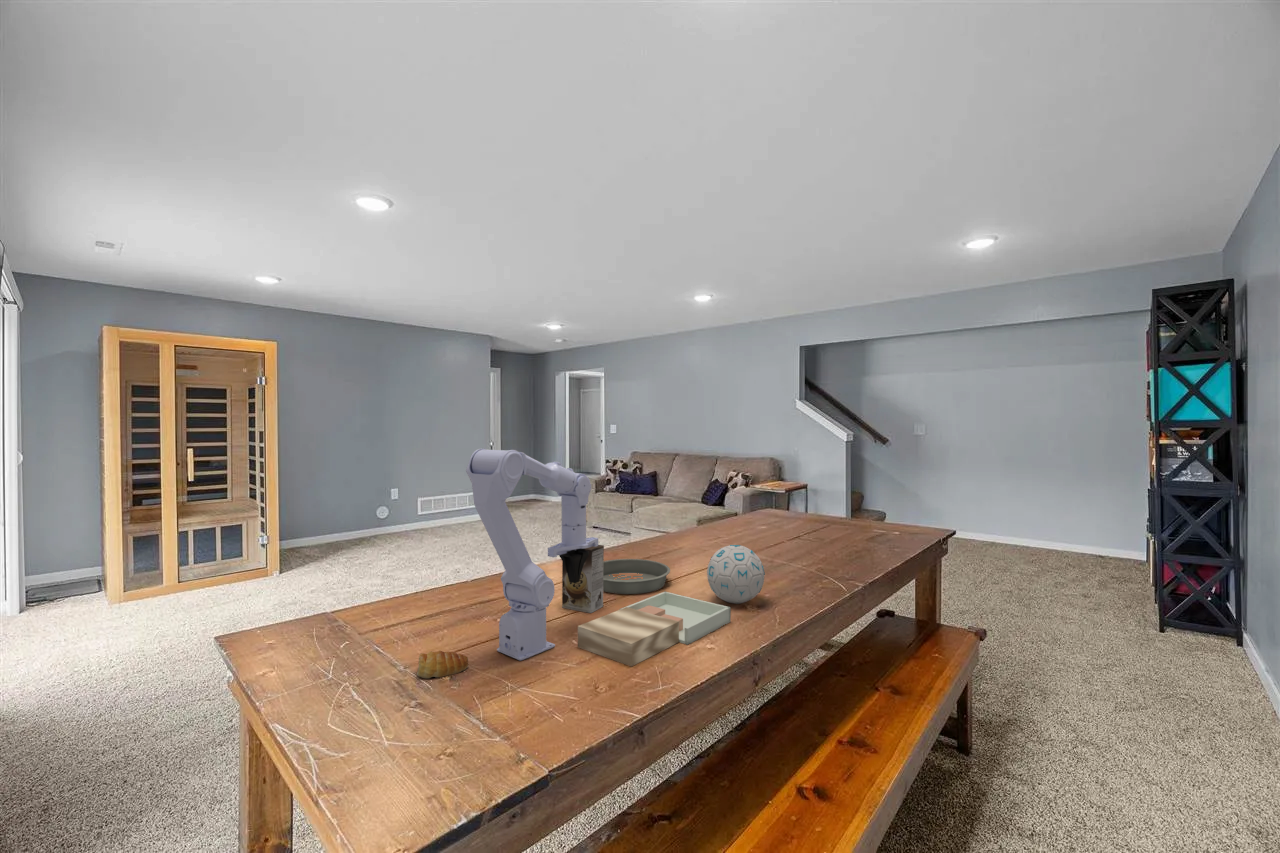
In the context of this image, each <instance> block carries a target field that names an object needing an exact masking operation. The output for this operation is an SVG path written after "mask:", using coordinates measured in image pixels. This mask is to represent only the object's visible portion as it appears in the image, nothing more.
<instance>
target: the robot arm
mask: <svg viewBox="0 0 1280 853" xmlns="http://www.w3.org/2000/svg"><path fill="white" fill-rule="evenodd" d="M561 464H562V463H561V462H559V461H552V462H547V463H542V462H541V461H539V460H536V459H535V458H533V457H531V456H529V455H527V454H526V453H525V452H522V451H518V450H517V449H510V450H509V449H508V450H507V449H505V450H503V449H487V448H483V447H482V448H478V449H475V450H474V451H473V452H472V454H471V455H470V458H469V460H468V463H467V467H466V470H465V472H466V474H467V476H468V478H469V481H470V483H471V488H472V489H471V490H472V497H473V498H472V499H473V504H474V507H475V510H476V511H477V512H476V513H478V516H479V517H480V518H479V519H480V520H481V522H482V525H483V526H484V529H485V531H486V532H487V534H488V536H489V538H490V542H491V543H492V545H493V548H494V549H495V551H496V553H497V555H498V558H499V559H500V562H501V564H502V566H503V568H504V572H503V573H502V575H501V577H500V581H501V584H502V592H503V596H504V598H505V599H506V600H507V601H508V606H509V607H510V609H509V610H508V611H507V612H505V613H503V614H502V615H501V616H500V619H499V622H498V629H499V630H498V634H499V635H498V646H499V647H498V648H496V651H497V652H499V653H500V654H501V653H502V654H503V655H506V656H508V657H510V658H512V659H516V660H518V661H523V660H527V659H529V658H531V657H533V656H536V655H538V654H541V653H543V652H545V651H547V650H550V649H553V648H554V647H555V646H556V644H555V643H552V642H550V641H548V640H547V608H548V607H549V606H550V604H551V602H552V601H553V598H554V596H555V591H556V590H555V584H554V581H553V579H552V578H550V577H549V576H547V574H546V572H545V570H544V569H542V568H541V567H540V566H538V565H537V564H536V563H534V562H533V561H532V558H531V557H530V554H529V552H528V550H527V547H526V545H525V543H524V541H523V537H522V536H521V534H520V531H519V530H518V527H517V525H516V523H515V521H514V518H513V516H512V514H511V511H510V510H509V507H508V505H507V503H506V501H507V499H508V498H510V497H511V496H512V494H513V492H514V490H515V489H516V486H517V485H518V483H519V481H520V480H521V477H522V476H525V475H526V476H528V477H532V478H534V479H537V480H538V482H539V484H540V486H542V487H544V489H548V490H551V491H554V492H556V493H557V496H559V497H561V499H560V500H561V503H560V504H561V505H560V507H561V542H559V543H557V544H555V545H552V546H550V547H547V557H550V558H557V556H559V558H560V560H561V561H563V563H564V565H565V568H566V571H567V575H568V579H569V582H572V583H577V582H579V580H580V576H581V572H582V568H583V565H584V563H585V561H586V559H587V557H588V556H589V551H586V550H585V548H589V547H592V546H594V547H596V546H598V545H599V537H595V536H594V537H593V536H591V537H587V505H588V502H589V496H590V493H591V490H592V483H591V480H590V478H589V477H588V476H587V475H586V474H585V473H581V472H575V471H574V469H573V468H570V467H567V468H566V467H564V466H562V465H561Z"/></svg>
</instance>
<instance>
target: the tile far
mask: <svg viewBox="0 0 1280 853" xmlns="http://www.w3.org/2000/svg"><path fill="white" fill-rule="evenodd" d="M638 610H639V611H643V612H646V613H650V614H654V615H657V616H662V615H664V614H665V609H661V608H657V607H653V606H650V605H648V606H646V607H643V608H641V609H638Z"/></svg>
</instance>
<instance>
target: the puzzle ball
mask: <svg viewBox="0 0 1280 853" xmlns="http://www.w3.org/2000/svg"><path fill="white" fill-rule="evenodd" d="M706 575H707V577H706V578H707V582H708V585H709V587H710V589H711V591H712V592H713V593H714V594H715V596H716V597H718V598H719V599H721V600H722V601H724V602H726V603H730V604H736V605H740V604H743V603H747V602H749V601H752V599H755V597H757V595H758V594H759V593H761V590H762V588H763V585H764V582H765V575H766V573H765V568H764V565H763V562H762V561H761V559H760V557H759V556H758V555H757V554H756V553H755V552H754V551H753V550H752V549H750V548H748V547H746V546H744V545H740V544H730V545H725V546H724V547H721V548H720V549H718V550H716V552H714V554H713V555H712V556H711V557H710V560H709V562H708V564H707V569H706Z"/></svg>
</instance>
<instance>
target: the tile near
mask: <svg viewBox="0 0 1280 853" xmlns="http://www.w3.org/2000/svg"><path fill="white" fill-rule="evenodd" d="M661 617H664V618H668V619H672V620H675V621H679V631H681V630H683V618H679V617H675V616H671V615H667V614H664V615H662V616H661Z"/></svg>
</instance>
